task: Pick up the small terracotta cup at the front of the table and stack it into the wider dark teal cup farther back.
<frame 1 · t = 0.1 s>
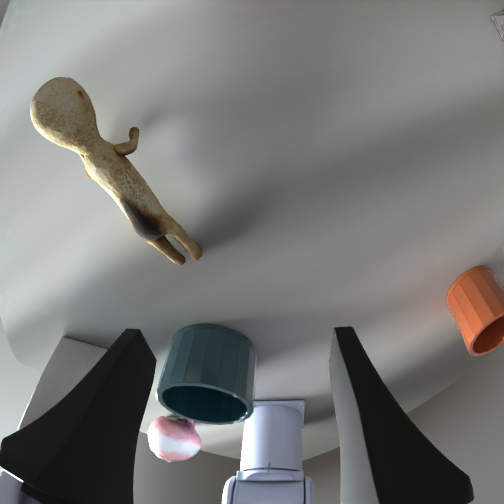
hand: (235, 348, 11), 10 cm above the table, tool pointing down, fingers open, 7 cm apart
onion: (179, 417, 38), on the table
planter: (87, 355, 31), on the table
cup: (470, 289, 21), on the table
base cup: (213, 351, 27), on the table
figurine: (135, 168, 17), on the table
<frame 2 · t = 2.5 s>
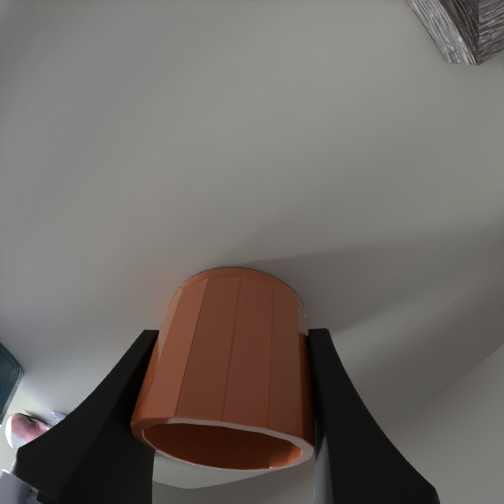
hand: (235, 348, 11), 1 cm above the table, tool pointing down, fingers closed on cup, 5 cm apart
onion: (37, 418, 29), on the table
cup: (237, 320, 12), on the table, touching gripper
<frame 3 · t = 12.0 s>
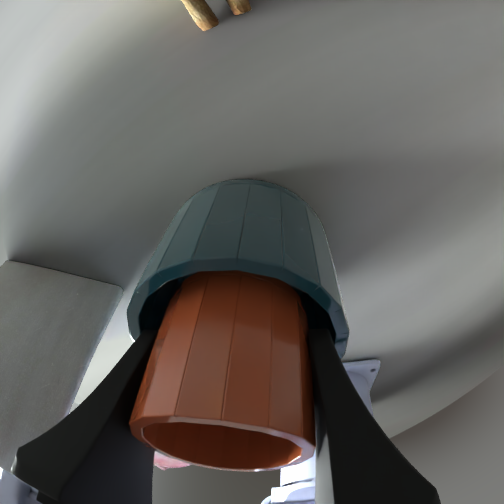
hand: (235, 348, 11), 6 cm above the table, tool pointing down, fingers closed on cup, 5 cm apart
onion: (178, 402, 27), on the table
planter: (40, 293, 19), on the table
cup: (237, 319, 12), point 5 cm above the table, touching gripper
base cup: (247, 253, 15), on the table
when the fingers open (9 cm above the table, at t = 26.3 s): cup drops 7 cm, resting on base cup.
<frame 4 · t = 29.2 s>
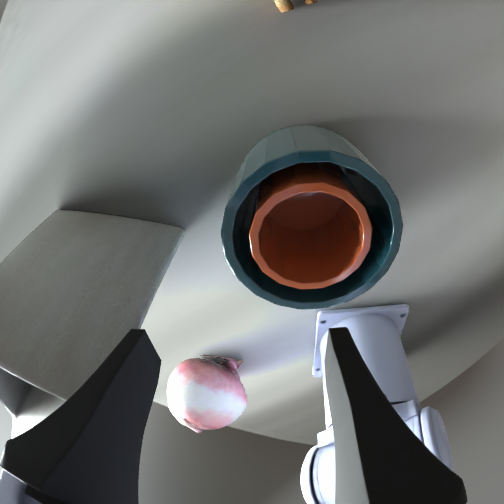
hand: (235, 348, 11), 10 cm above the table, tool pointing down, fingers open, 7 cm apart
onion: (213, 364, 29), on the table
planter: (88, 244, 22), on the table, touching gripper
cup: (302, 192, 17), point 1 cm above the table, touching base cup
base cup: (304, 190, 18), on the table
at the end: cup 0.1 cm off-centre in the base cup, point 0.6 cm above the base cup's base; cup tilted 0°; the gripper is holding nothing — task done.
